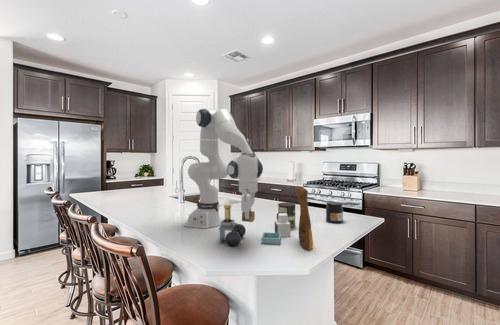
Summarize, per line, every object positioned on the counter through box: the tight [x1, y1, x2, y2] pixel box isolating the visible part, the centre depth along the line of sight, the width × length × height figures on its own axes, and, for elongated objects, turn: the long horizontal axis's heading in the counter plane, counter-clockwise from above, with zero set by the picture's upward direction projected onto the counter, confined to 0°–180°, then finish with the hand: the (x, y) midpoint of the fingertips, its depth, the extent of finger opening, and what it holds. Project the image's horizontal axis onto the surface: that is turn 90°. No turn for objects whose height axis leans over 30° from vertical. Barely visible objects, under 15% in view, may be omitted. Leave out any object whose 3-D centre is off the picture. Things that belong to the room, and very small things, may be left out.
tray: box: [261, 231, 282, 246], centre depth 125 cm, size 9×9×3 cm
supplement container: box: [325, 201, 344, 224], centre depth 161 cm, size 10×10×12 cm
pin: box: [223, 204, 232, 222], centre depth 126 cm, size 4×4×10 cm
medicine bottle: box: [274, 212, 291, 238], centre depth 135 cm, size 7×7×12 cm
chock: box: [241, 210, 256, 223], centre depth 118 cm, size 5×4×4 cm
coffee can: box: [277, 202, 296, 231], centre depth 149 cm, size 10×10×14 cm
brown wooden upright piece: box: [294, 185, 314, 251], centre depth 120 cm, size 7×19×28 cm, turn 177°
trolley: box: [218, 218, 246, 248], centre depth 126 cm, size 11×15×10 cm
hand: (248, 216), depth 118 cm, fingers closed on chock, 4 cm apart
